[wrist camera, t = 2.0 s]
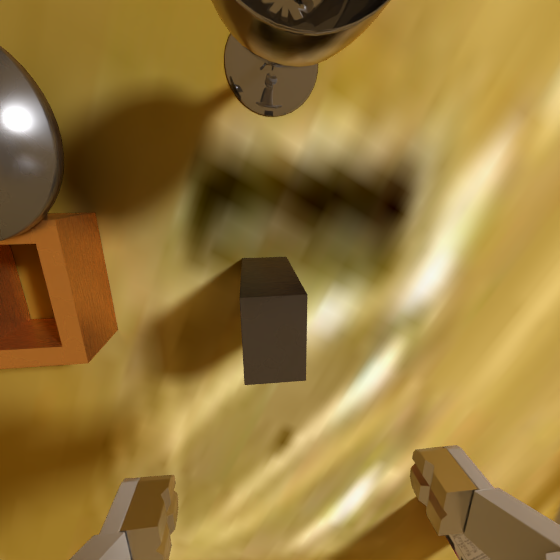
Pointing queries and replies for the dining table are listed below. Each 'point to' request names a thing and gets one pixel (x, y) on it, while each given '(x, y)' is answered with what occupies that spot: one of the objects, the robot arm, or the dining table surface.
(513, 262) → the dining table surface
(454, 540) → the candy bar box
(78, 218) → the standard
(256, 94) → the wine glass
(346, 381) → the dining table surface
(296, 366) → the dark brown upright block
